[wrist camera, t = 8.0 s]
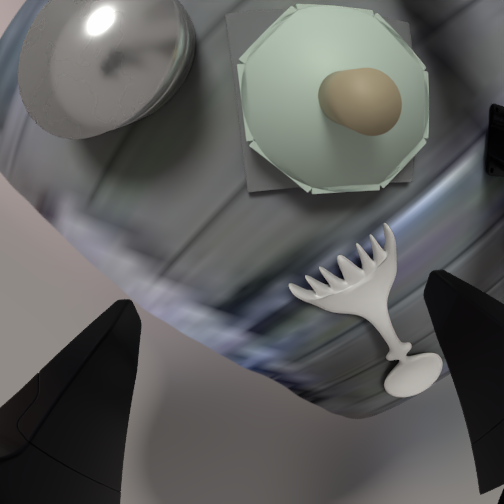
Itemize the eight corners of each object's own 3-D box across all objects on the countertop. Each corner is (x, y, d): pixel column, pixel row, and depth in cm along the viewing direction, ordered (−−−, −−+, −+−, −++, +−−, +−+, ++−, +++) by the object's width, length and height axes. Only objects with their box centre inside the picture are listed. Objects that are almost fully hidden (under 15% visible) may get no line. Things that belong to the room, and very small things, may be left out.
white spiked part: (375, 203, 20) (394, 224, 17) (441, 364, 34) (449, 381, 31) (280, 266, 23) (284, 294, 20) (392, 392, 37) (398, 410, 34)
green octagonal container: (406, 25, 12) (456, 15, 7) (409, 178, 18) (452, 211, 13) (231, 17, 12) (224, -13, 7) (252, 187, 18) (254, 227, 14)
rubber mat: (404, 23, 12) (409, 22, 11) (407, 179, 18) (411, 182, 18) (225, 16, 12) (225, 13, 12) (247, 189, 19) (247, 192, 18)
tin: (189, -27, 10) (170, -58, 6) (205, 106, 16) (190, 113, 12) (57, 23, 11) (15, 17, 7) (73, 141, 16) (32, 160, 12)
